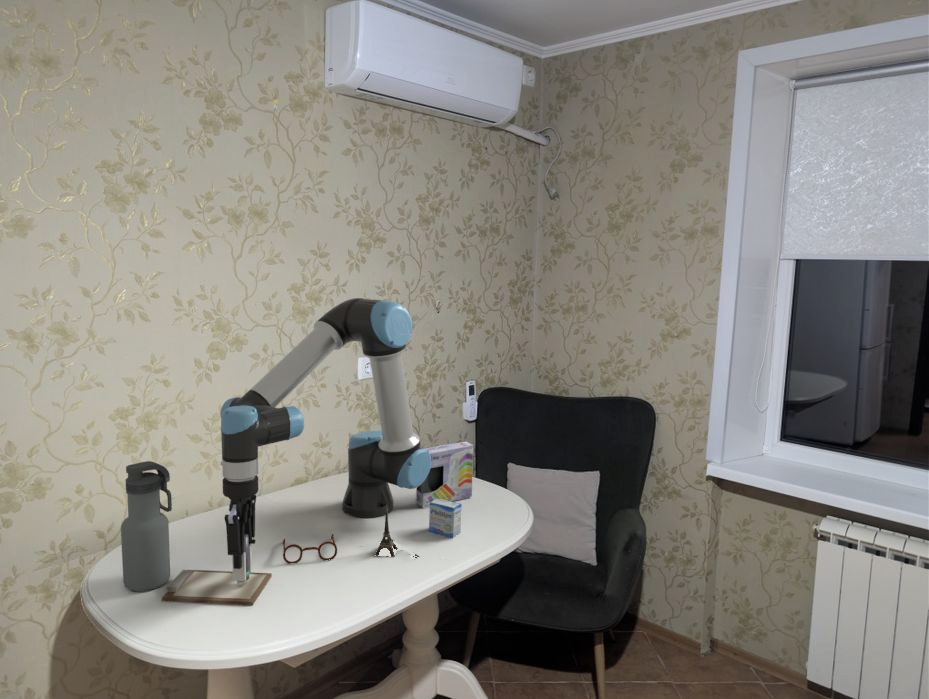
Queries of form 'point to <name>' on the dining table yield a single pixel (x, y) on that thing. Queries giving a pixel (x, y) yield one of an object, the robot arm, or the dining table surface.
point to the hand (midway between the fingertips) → (242, 575)
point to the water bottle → (146, 528)
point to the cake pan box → (447, 474)
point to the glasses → (310, 549)
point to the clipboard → (215, 587)
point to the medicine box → (445, 518)
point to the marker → (246, 549)
